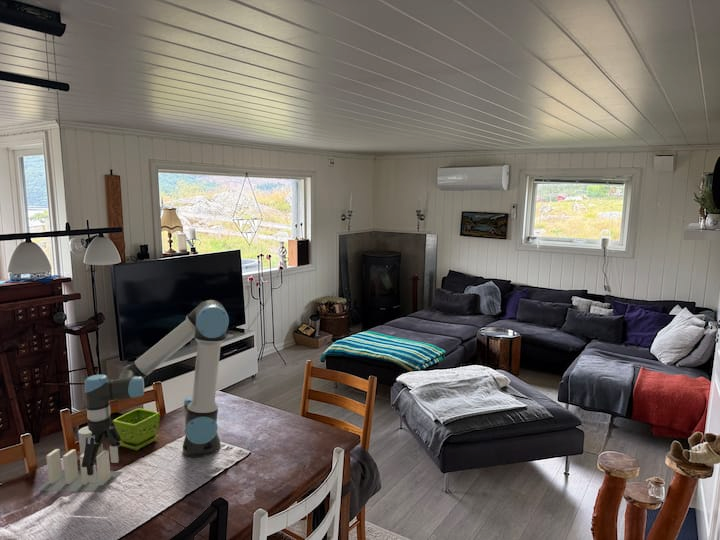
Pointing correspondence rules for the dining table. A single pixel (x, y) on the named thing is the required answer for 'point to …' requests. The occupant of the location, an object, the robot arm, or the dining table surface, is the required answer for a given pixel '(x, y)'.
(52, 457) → the domino
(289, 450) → the dining table surface
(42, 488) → the mat
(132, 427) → the flower pot
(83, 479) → the domino
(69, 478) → the domino
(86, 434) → the white upright cylinder
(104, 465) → the domino
